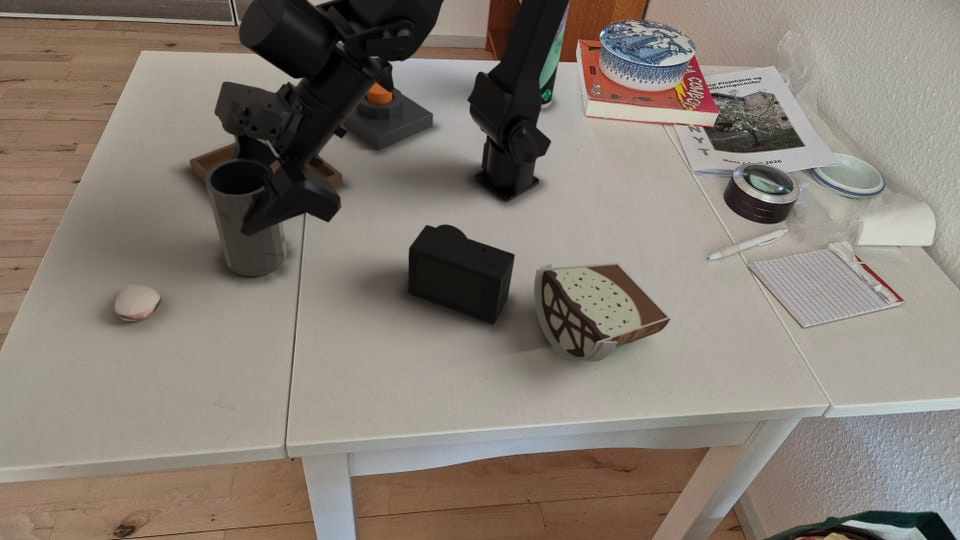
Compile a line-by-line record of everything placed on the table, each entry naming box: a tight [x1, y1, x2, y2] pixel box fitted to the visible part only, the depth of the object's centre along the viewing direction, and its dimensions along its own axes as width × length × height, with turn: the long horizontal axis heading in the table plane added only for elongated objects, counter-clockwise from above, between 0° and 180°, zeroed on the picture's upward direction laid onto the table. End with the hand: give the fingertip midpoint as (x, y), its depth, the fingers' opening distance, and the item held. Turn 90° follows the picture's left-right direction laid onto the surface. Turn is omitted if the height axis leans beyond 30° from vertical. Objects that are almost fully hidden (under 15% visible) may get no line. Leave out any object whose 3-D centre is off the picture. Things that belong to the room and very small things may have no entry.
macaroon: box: [113, 283, 162, 322], centre depth 68 cm, size 4×5×2 cm
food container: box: [533, 262, 672, 363], centre depth 70 cm, size 12×6×10 cm
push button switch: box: [342, 86, 434, 151], centre depth 96 cm, size 12×10×4 cm
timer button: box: [367, 83, 392, 104], centre depth 95 cm, size 4×4×2 cm
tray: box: [189, 142, 344, 189], centre depth 85 cm, size 14×13×2 cm
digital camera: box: [407, 223, 516, 325], centre depth 72 cm, size 10×5×7 cm, turn 68°
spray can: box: [540, 0, 571, 110], centre depth 99 cm, size 6×6×20 cm
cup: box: [204, 158, 288, 277], centre depth 72 cm, size 7×7×11 cm
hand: (233, 213), depth 70 cm, fingers closed on cup, 7 cm apart
